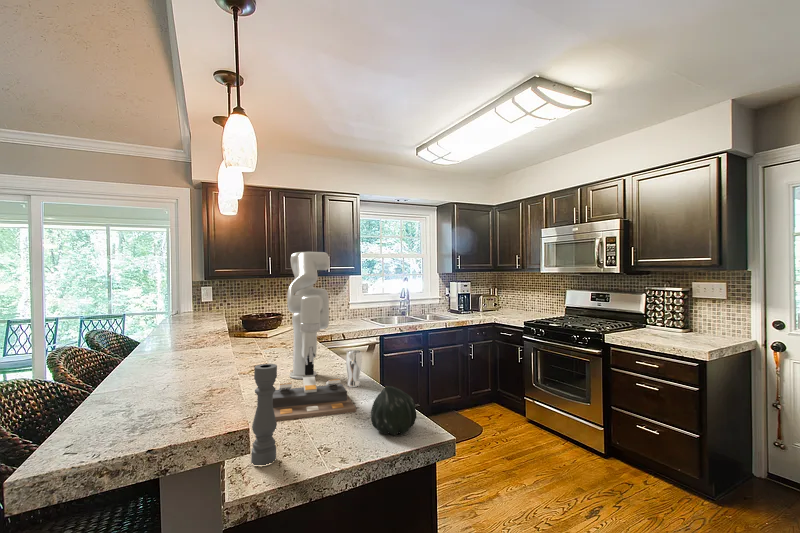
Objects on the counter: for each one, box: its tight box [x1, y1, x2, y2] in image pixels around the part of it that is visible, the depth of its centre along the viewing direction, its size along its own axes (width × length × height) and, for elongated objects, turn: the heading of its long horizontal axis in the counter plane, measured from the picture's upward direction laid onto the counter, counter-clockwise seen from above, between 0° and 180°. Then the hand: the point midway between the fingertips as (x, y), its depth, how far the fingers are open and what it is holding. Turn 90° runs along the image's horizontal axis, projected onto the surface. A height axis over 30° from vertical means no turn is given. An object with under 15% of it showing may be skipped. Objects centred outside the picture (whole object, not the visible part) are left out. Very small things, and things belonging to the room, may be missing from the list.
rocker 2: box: [302, 376, 317, 393], centre depth 141 cm, size 8×4×2 cm, turn 19°
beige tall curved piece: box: [345, 349, 363, 388], centre depth 165 cm, size 7×7×15 cm
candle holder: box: [250, 363, 278, 465], centre depth 98 cm, size 6×6×25 cm
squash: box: [370, 385, 418, 436], centre depth 118 cm, size 14×15×15 cm
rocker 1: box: [278, 382, 293, 390], centre depth 138 cm, size 8×4×1 cm, turn 20°
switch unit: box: [273, 383, 357, 422], centre depth 139 cm, size 22×30×6 cm
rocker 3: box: [325, 378, 342, 385], centre depth 145 cm, size 8×4×1 cm, turn 20°
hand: (309, 374), depth 144 cm, fingers closed
